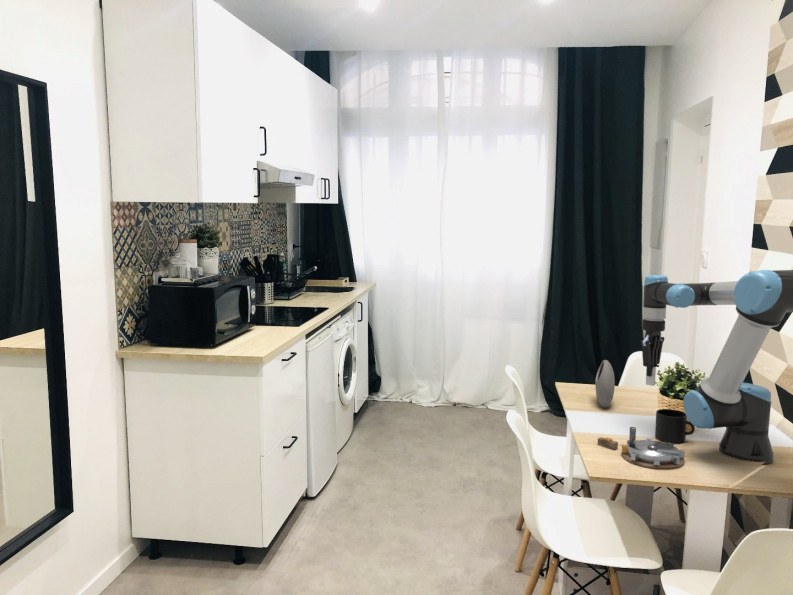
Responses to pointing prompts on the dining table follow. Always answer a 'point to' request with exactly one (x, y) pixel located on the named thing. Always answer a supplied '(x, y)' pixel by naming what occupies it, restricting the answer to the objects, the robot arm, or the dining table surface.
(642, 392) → the dining table surface
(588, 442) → the dining table surface
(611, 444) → the rail
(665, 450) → the sprocket
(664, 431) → the mug
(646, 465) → the sprocket base
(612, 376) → the grey flattened round ornament
